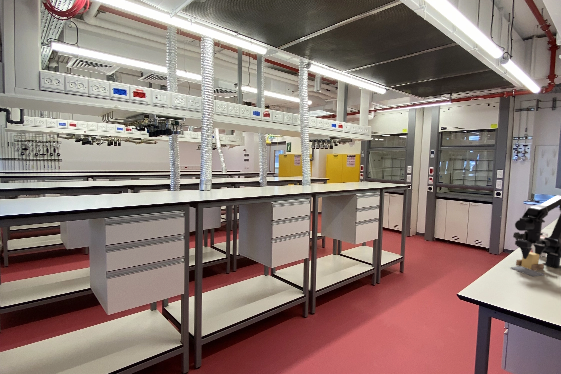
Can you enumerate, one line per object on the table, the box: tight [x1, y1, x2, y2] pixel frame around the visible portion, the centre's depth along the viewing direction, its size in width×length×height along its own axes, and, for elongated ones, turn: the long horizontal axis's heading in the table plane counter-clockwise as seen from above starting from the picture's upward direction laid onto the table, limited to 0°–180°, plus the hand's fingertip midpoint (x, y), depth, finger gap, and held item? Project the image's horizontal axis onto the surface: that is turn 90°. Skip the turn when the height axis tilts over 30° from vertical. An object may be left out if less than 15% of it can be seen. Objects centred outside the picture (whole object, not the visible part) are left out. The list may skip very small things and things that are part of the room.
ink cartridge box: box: [530, 230, 549, 258], centre depth 187 cm, size 9×5×15 cm, turn 168°
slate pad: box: [510, 265, 545, 277], centre depth 156 cm, size 8×11×1 cm
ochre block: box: [520, 252, 540, 269], centre depth 162 cm, size 5×5×8 cm
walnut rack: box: [515, 258, 545, 271], centre depth 163 cm, size 8×9×3 cm
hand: (530, 258), depth 162 cm, fingers open, 9 cm apart
